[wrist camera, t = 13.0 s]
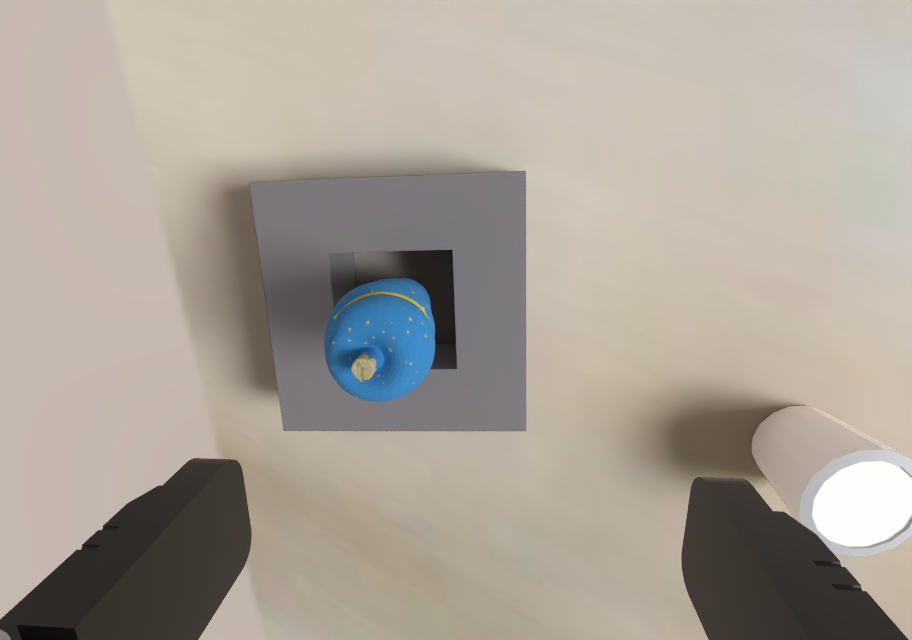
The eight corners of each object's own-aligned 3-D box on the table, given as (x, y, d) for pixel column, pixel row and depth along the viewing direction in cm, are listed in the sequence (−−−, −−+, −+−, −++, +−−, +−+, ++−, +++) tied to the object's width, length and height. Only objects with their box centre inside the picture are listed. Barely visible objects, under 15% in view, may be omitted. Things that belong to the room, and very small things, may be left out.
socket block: (285, 181, 33) (249, 181, 28) (521, 172, 31) (525, 171, 27) (311, 397, 37) (283, 430, 32) (521, 397, 35) (526, 431, 31)
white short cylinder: (730, 479, 36) (784, 549, 29) (756, 390, 34) (821, 442, 27) (830, 493, 36) (908, 566, 29) (862, 403, 34) (953, 459, 27)
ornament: (446, 248, 33) (412, 294, 19) (460, 324, 34) (437, 423, 20) (369, 261, 34) (277, 316, 19) (385, 335, 35) (310, 440, 20)
